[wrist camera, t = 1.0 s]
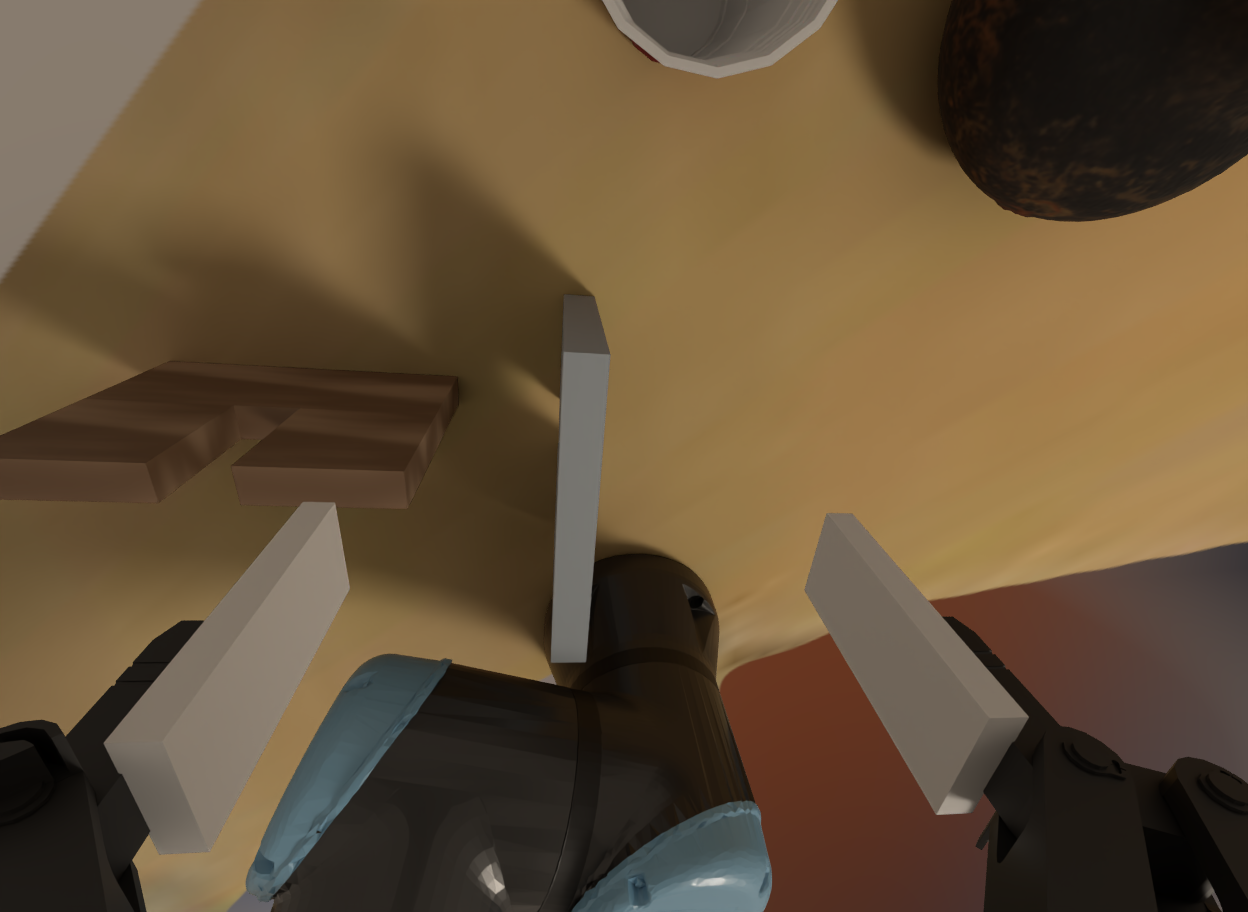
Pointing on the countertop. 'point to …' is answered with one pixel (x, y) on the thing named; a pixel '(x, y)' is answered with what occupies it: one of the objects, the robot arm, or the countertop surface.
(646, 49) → the plastic cup
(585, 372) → the notched grey panel
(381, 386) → the walnut board
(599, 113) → the countertop surface
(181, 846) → the robot arm
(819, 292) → the countertop surface
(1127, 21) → the dark brown vase
